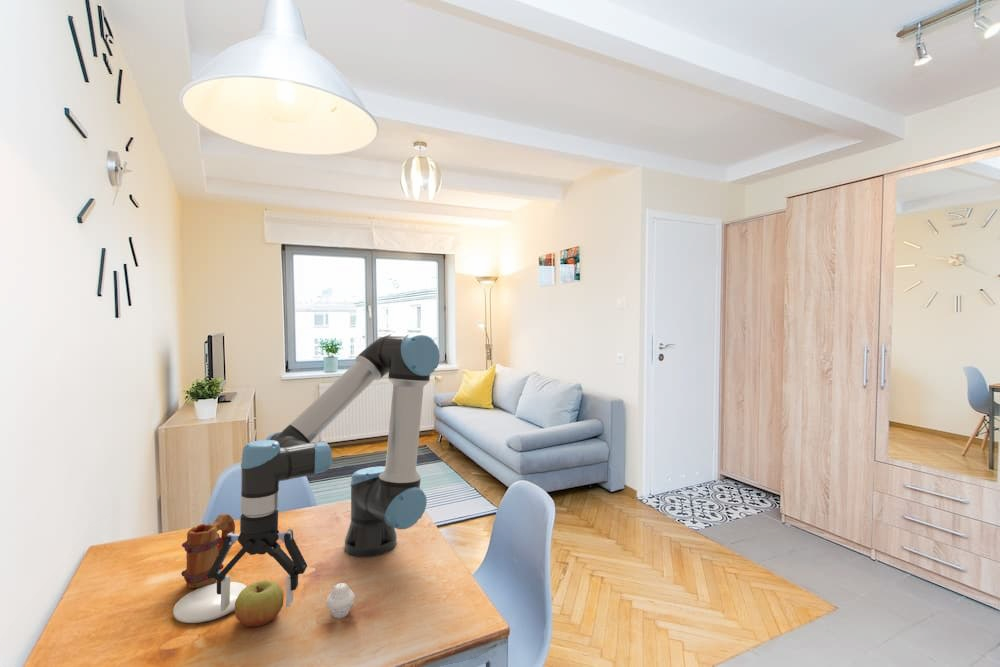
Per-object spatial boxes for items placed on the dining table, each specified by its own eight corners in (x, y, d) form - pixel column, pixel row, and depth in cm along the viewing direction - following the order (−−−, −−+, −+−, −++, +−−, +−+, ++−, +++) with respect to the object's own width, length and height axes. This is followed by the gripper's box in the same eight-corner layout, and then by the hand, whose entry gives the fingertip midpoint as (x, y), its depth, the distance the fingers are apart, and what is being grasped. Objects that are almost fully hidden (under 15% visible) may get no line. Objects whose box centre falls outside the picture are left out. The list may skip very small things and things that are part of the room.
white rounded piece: (332, 605, 109) (332, 576, 109) (358, 606, 109) (358, 576, 108) (321, 622, 102) (321, 591, 102) (348, 623, 102) (349, 592, 102)
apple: (231, 638, 97) (231, 601, 97) (237, 612, 106) (237, 578, 106) (282, 627, 101) (282, 591, 101) (284, 602, 110) (284, 569, 110)
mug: (200, 595, 112) (200, 534, 112) (172, 591, 114) (172, 531, 113) (245, 565, 126) (245, 511, 126) (219, 561, 128) (220, 508, 128)
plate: (258, 585, 117) (258, 579, 117) (232, 622, 102) (232, 616, 102) (194, 589, 115) (194, 583, 115) (158, 628, 100) (158, 622, 100)
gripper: (321, 503, 108) (319, 592, 108) (208, 506, 105) (206, 599, 105) (313, 516, 101) (311, 612, 101) (190, 520, 97) (188, 619, 97)
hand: (257, 605), depth 103 cm, fingers open, 13 cm apart
